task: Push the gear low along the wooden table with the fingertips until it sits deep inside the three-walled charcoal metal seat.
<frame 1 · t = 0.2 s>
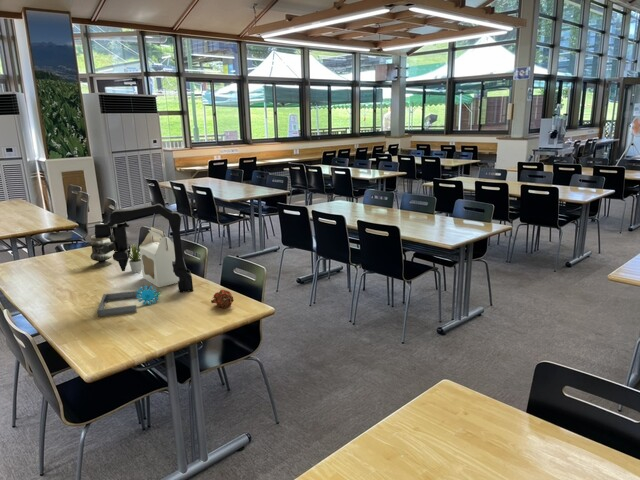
hand: (124, 268, 221), 14 cm above the table, tool pointing down, fingers open, 9 cm apart
gear seat: (119, 306, 213), on the table
house plant: (139, 271, 266), on the table
apothecary jar: (102, 264, 280), on the table
gable box: (162, 280, 250), on the table
gear: (149, 303, 217), on the table
dragon fruit: (222, 306, 210), on the table
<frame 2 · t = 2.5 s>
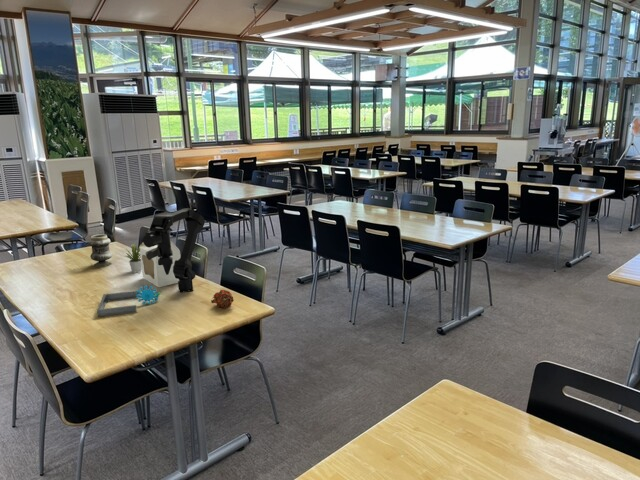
hand: (167, 274, 218), 12 cm above the table, tool pointing down, fingers closed
nothing on the table moved.
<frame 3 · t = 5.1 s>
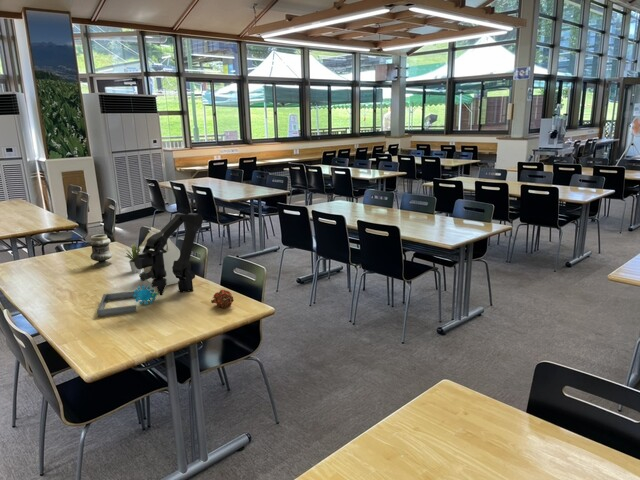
hand: (161, 295, 219), 2 cm above the table, tool pointing down, fingers closed
gear: (146, 302, 217), on the table, touching gripper
everything else where it was.
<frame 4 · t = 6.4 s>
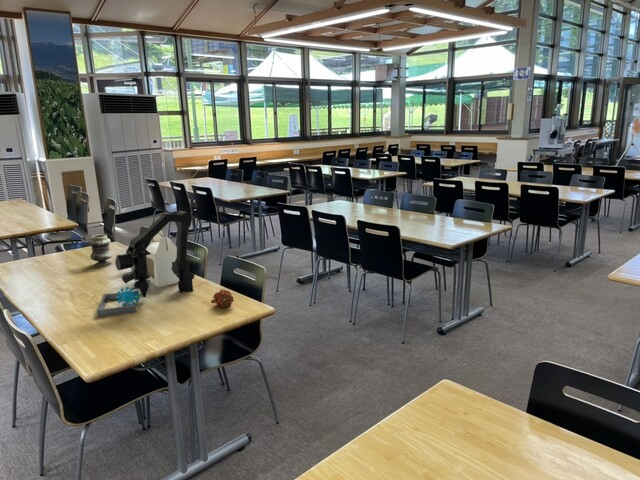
hand: (144, 297, 217), 2 cm above the table, tool pointing down, fingers closed, pressing on gear
gear: (130, 304, 215), on the table, touching gripper
everything else where it was.
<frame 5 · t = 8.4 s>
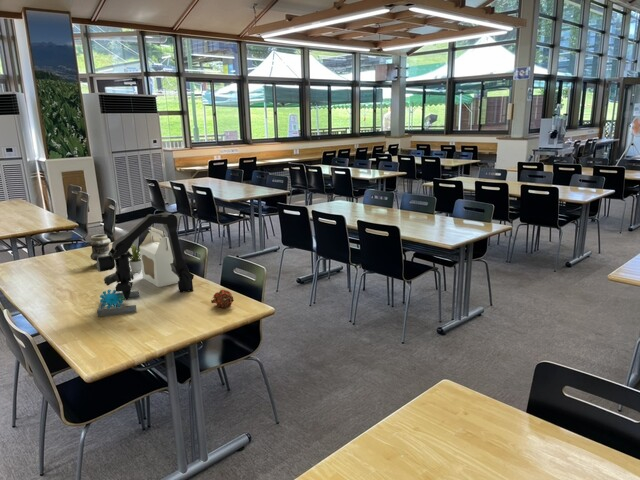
hand: (127, 299, 215), 2 cm above the table, tool pointing down, fingers closed, pressing on gear
gear: (113, 307, 212), on the table, touching gear seat, gripper
everything else where it was.
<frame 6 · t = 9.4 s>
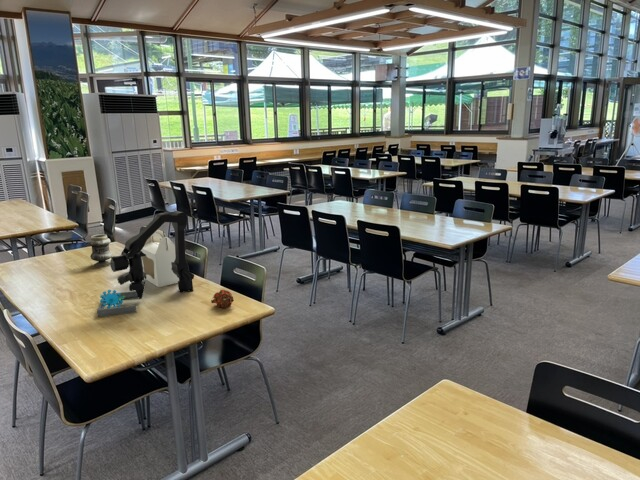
hand: (140, 298, 217), 2 cm above the table, tool pointing down, fingers closed
gear: (113, 307, 212), on the table
everything else where it was.
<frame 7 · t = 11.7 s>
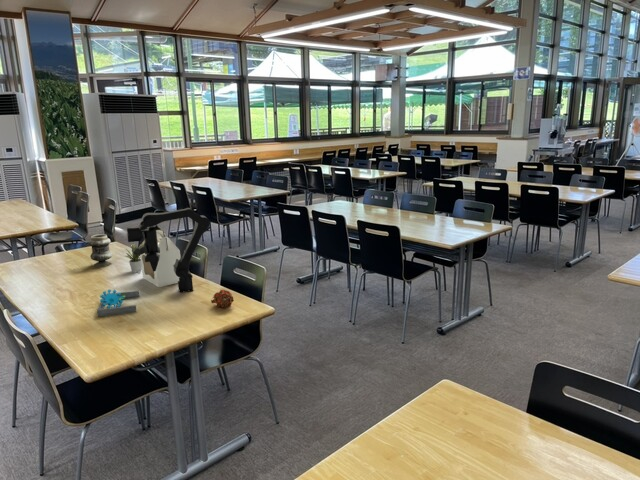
hand: (154, 271, 224), 12 cm above the table, tool pointing down, fingers closed
gear: (114, 307, 212), on the table, touching gear seat
everything else where it was.
at the end: gear inside the target area on the gear seat (3.4 cm from its centre), point 0.0 cm above the gear seat's base; gear tilted 0° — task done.
